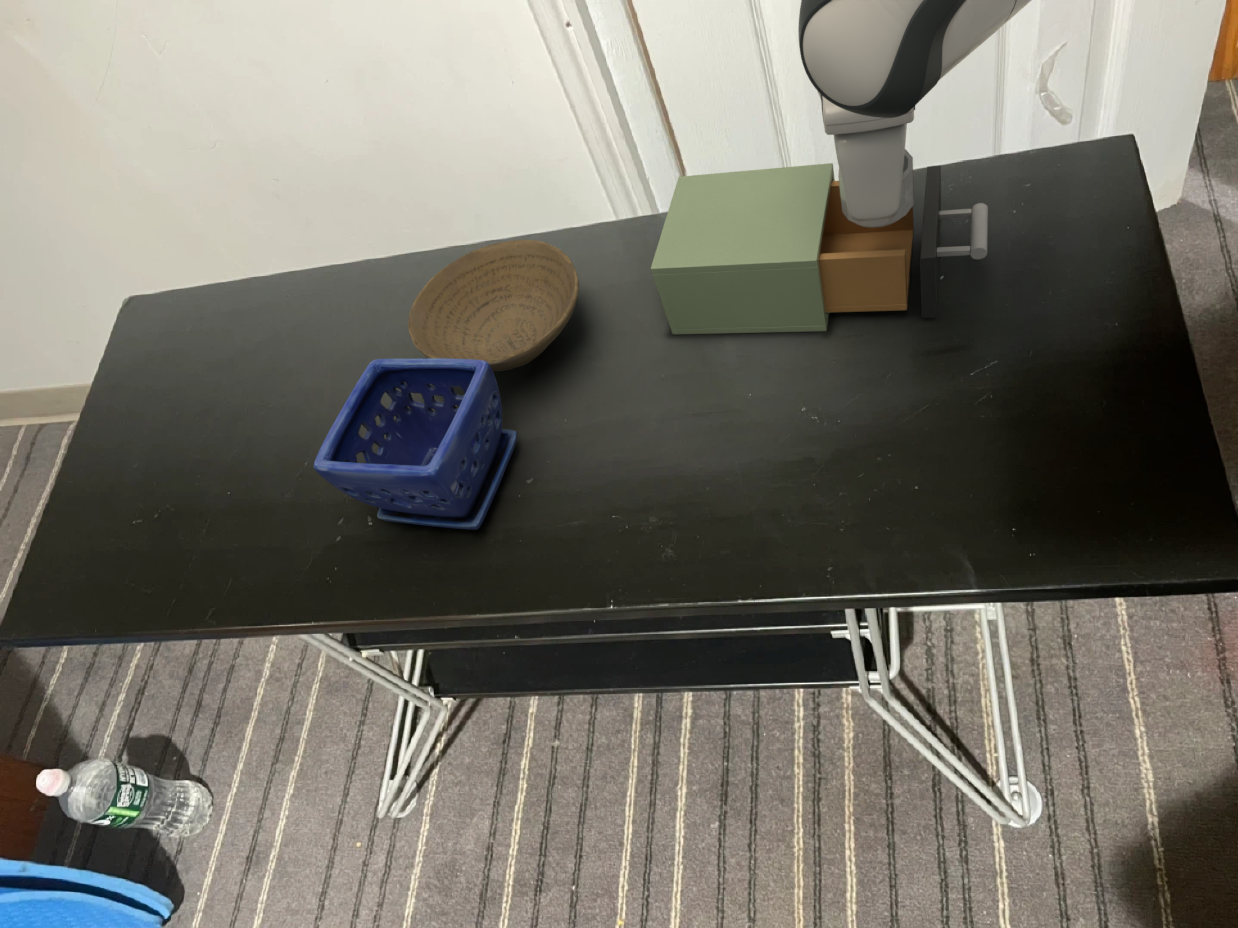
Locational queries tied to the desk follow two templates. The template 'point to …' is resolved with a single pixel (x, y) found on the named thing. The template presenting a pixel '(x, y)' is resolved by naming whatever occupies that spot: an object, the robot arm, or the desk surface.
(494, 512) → the desk surface
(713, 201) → the cabinet
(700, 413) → the desk surface
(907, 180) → the steel bowl
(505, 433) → the flower pot
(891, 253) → the drawer
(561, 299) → the bowl
